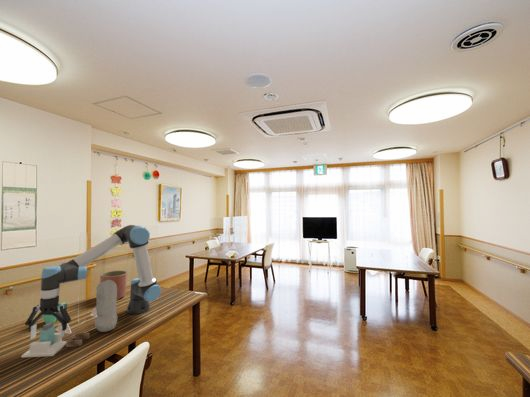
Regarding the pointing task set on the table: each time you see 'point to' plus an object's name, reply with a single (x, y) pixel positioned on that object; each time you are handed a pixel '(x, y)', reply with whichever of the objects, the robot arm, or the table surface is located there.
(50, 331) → the plug
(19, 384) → the table surface
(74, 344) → the holster
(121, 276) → the planter
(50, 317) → the mug
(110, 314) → the sculpture
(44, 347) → the port
